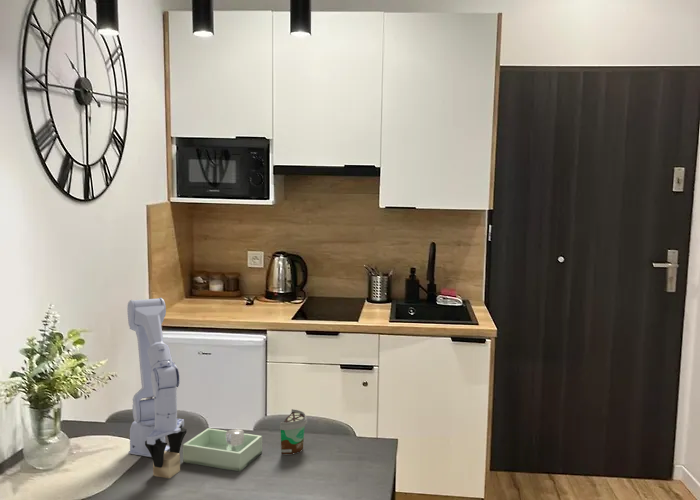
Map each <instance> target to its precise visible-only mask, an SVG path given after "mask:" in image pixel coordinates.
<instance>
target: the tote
mask: <svg viewBox="0 0 700 500" xmlns="http://www.w3.org/2000/svg"><path fill="white" fill-rule="evenodd" d="M227 431H228V430H223V429H218V428H210V427H207V428H206V429H205V430H203V431H202V432H199V433H198V434H197V435H195V436H194V437H192V438H191V439H189V440H188V441H186V442H184V443H182V462H183V463H187V464H193V465H199V466H204V467H211V468H217V469H223V470H228V471H236V472H241V471H243V470H244V469H246V467H247V466H249V465H250V464H251V463H252V462H253V461H254V460H256V458H258V457H259V456H260V455H262V453H263V435H258V434H251V433H245V432H244V448H243V449H242V450H241V451H239V452H235V451H228V450H226V432H227ZM257 456H258V457H257Z"/></svg>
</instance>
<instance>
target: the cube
mask: <svg viewBox="0 0 700 500" xmlns="http://www.w3.org/2000/svg"><path fill="white" fill-rule="evenodd" d="M180 455H181V453H180V452H179V453H174V452H170V451H169V450H168V451H164V459H163V466H162V467H161V468H159V467H154V463H153V462H152V468H153V469H152V476H153V477H159V478H163V479H171V478H172V477H174V476H175V475H177V474H178V473H179V472H181V457H180Z"/></svg>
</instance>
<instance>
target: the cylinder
mask: <svg viewBox="0 0 700 500" xmlns="http://www.w3.org/2000/svg"><path fill="white" fill-rule="evenodd" d="M226 431H227V432H226V450H228V451H235V452H239V451H241V450H242V449H243V448H244V433H245V431H244V430H243V429H240V428H235V429H234V428H233V429H229V430H226Z"/></svg>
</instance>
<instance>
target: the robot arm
mask: <svg viewBox="0 0 700 500" xmlns="http://www.w3.org/2000/svg"><path fill="white" fill-rule="evenodd" d="M126 308H127V319H128V327H129V330H132V331H135V335H136V338H137V348H138V361H139V371H140V380H141V382H140V383H141V388H140V389H139V390H138V391H137V392H136V393H135V394H134V395H133V397H132V417H133V420H134V421H132V423H131V425H130V428H129V450H128V454H130V455H131V454H132V455H136V456H141V457H148V458H151V460H152V464H153V463H154V467H159V468H161V467H162V466H163V459H164V451H168V452H174V453H180V451H181V446H182V445H183V441H184V438H185V436H186V433H187V432H188V431H187V428H184V427H185V419H184V418H183V419H182V418H178V395H177V394H178V392H177V391H178V390H177V388H179V386H180V382H181V381H180V380H181V379H180V372H179V368H178V366H177V365H176V362H174V361H173V358H172V354H171V349H170V346H169V345H168V344H167V343H165V342H164V335H163V330H162V329H163V328H162V324H163V322H164V320H165V317H166V315H167V306H166V302H165V299H163V298H162V297H158V298H148V299H147V298H145V299H135V300H134V299H130V300H129V301H128V303H127V306H126ZM153 397H154V398H153ZM147 398H148V399H147ZM166 437H167V440H168V443H167V442H166ZM168 444H169V445H168Z"/></svg>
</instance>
